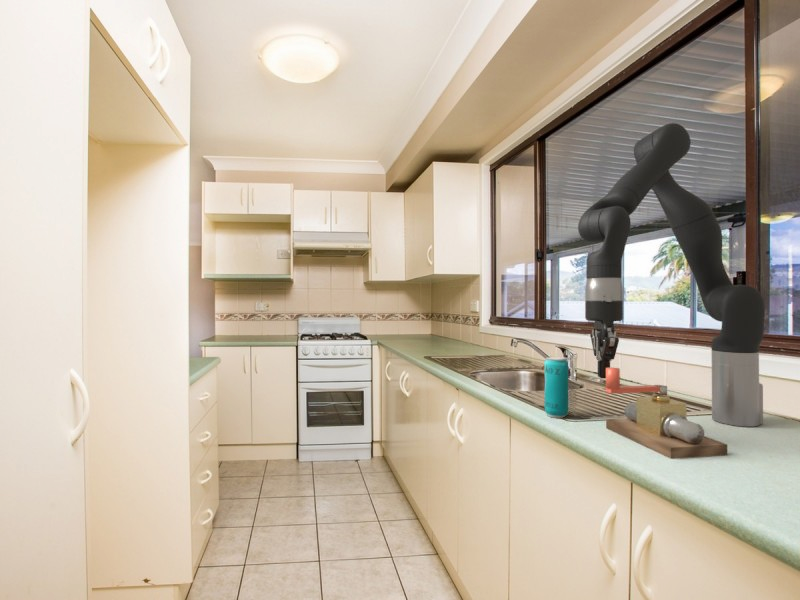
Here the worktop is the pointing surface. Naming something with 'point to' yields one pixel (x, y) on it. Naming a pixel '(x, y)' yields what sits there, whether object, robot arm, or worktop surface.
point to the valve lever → (615, 387)
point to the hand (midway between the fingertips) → (603, 377)
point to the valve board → (665, 428)
